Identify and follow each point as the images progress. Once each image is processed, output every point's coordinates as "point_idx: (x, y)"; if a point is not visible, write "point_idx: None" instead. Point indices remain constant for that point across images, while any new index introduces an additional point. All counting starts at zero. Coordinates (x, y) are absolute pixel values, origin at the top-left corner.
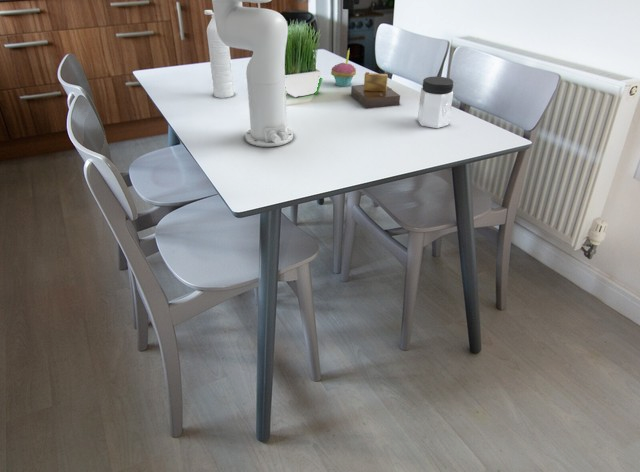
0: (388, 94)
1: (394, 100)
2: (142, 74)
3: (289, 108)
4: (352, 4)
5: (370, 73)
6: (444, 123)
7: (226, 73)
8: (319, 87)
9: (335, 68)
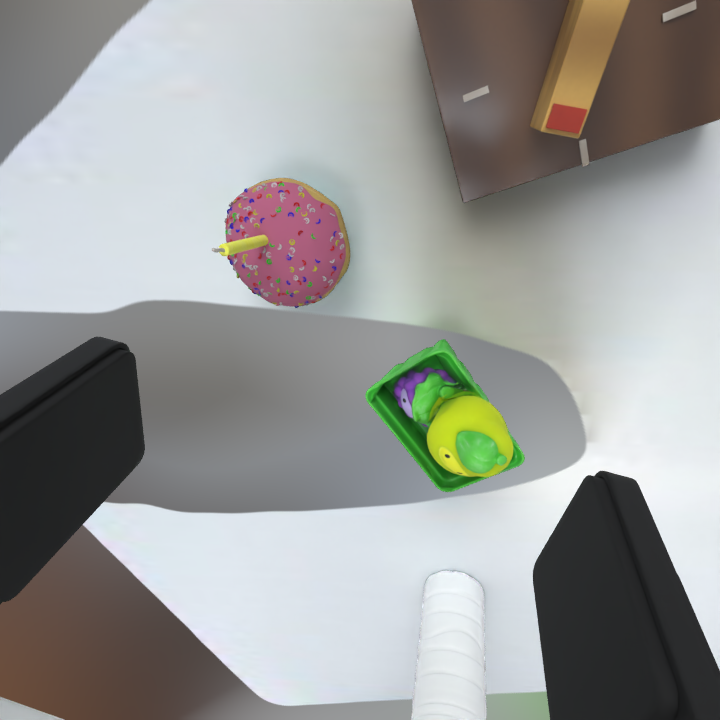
0: None
1: None
2: (289, 701)
3: (622, 439)
4: (645, 544)
5: (562, 93)
6: None
7: (479, 653)
8: (446, 345)
9: (311, 294)
